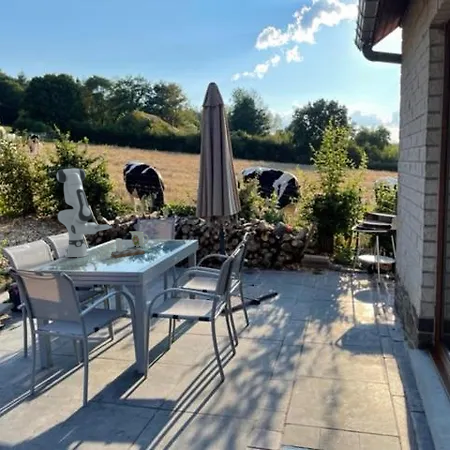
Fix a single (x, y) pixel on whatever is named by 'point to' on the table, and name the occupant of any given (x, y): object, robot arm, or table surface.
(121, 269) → the table surface
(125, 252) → the fader track
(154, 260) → the table surface
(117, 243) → the fader tab
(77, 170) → the robot arm
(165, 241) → the table surface
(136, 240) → the pitcher
